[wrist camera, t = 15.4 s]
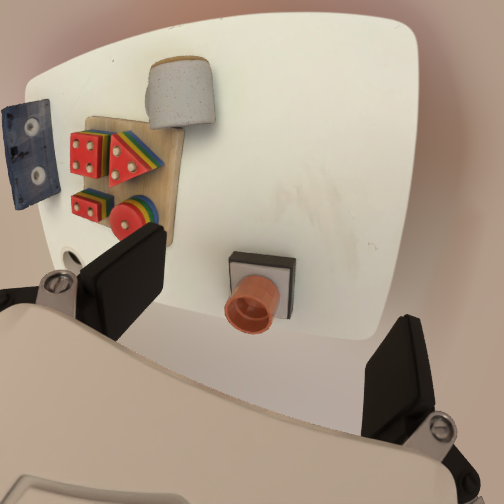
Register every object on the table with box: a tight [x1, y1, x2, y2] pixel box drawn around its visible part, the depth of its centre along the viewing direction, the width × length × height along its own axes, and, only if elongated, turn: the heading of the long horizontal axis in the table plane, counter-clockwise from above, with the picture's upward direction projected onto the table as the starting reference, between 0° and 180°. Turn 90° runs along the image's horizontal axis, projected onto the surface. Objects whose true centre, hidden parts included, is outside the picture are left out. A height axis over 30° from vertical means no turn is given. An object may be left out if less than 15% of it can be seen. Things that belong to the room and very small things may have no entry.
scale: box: [229, 251, 296, 319], centre depth 41 cm, size 9×9×3 cm
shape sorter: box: [70, 116, 184, 247], centre depth 38 cm, size 18×17×6 cm
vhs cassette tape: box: [1, 99, 61, 210], centre depth 39 cm, size 18×3×10 cm, turn 1°
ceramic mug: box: [145, 56, 216, 130], centre depth 30 cm, size 11×8×8 cm
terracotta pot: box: [224, 275, 280, 334], centre depth 38 cm, size 6×6×5 cm
